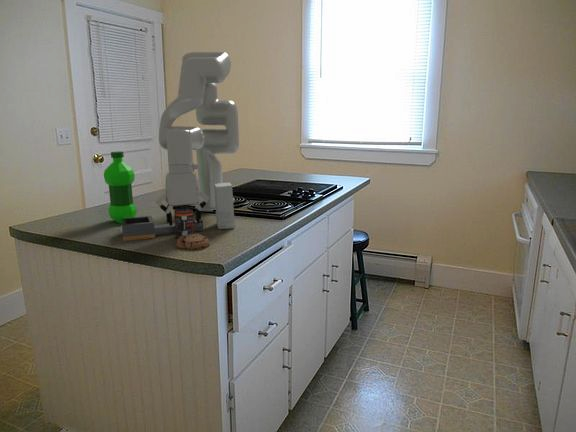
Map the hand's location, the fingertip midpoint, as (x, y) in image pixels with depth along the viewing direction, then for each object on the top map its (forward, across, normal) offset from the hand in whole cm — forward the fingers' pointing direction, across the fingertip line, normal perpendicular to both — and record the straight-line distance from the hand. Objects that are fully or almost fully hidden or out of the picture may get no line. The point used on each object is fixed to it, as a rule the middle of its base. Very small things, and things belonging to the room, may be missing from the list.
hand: (184, 223), depth 147 cm
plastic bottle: (+5, +18, -28) cm, 34 cm away
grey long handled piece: (+5, +6, -7) cm, 10 cm away
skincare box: (+5, -15, -8) cm, 18 cm away
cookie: (+5, -1, +10) cm, 11 cm away
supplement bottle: (+5, 0, 0) cm, 5 cm away
